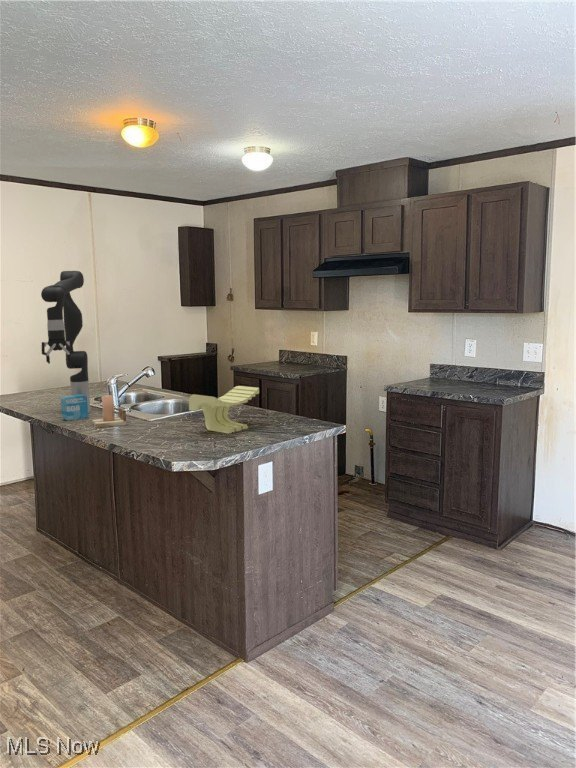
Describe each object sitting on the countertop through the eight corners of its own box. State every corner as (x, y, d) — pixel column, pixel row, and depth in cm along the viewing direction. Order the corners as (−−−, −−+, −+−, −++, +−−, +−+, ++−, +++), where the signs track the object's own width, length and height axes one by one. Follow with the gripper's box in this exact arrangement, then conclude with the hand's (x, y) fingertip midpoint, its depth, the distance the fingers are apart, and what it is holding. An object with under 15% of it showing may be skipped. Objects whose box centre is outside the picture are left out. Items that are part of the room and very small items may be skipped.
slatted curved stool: (234, 421, 289) (233, 385, 286) (259, 424, 279) (259, 387, 276) (190, 432, 265) (188, 393, 262) (215, 437, 255) (214, 396, 253)
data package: (65, 421, 295) (63, 397, 293) (62, 420, 298) (60, 396, 296) (88, 417, 303) (87, 394, 301) (84, 416, 306) (83, 393, 304)
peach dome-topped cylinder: (102, 419, 287) (100, 395, 285) (113, 418, 289) (111, 394, 287) (104, 421, 282) (102, 397, 280) (115, 420, 284) (113, 396, 282)
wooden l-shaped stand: (92, 423, 288) (91, 409, 287) (121, 420, 294) (120, 406, 293) (96, 428, 277) (95, 413, 276) (126, 425, 283) (125, 410, 282)
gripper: (70, 328, 288) (73, 361, 291) (39, 329, 282) (42, 363, 284) (72, 329, 282) (74, 362, 284) (40, 330, 275) (43, 364, 278)
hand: (58, 362), depth 284 cm, fingers open, 8 cm apart
